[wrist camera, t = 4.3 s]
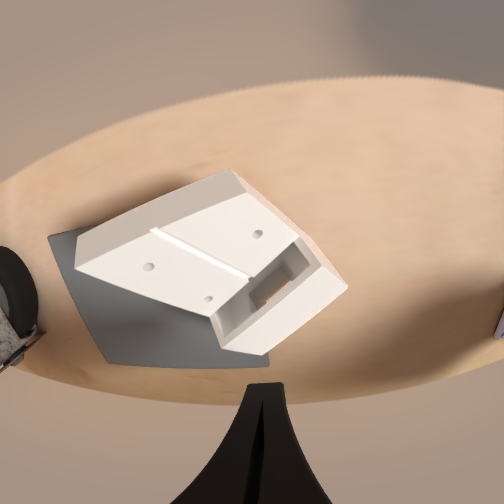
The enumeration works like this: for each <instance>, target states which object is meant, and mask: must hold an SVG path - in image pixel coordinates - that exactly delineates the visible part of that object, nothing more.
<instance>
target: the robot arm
mask: <svg viewBox="0 0 504 504" xmlns="http://www.w3.org/2000/svg"><path fill="white" fill-rule="evenodd" d="M503 337H504V311H503V314H502V317H501V319H500V322H499V324H498V327H497V329H496V332H495V334H494V338H495V339H496V340H498V339H500V338H503ZM170 504H332V502H331V501H330V499H329V498H328V496H327V495H326V493H325V492H324V490H323V489H322V487H321V485H320V484H319V482H318V481H317V479H316V477H315V475H314V474H313V472H312V470H311V468H310V466H309V464H308V462H307V460H306V458H305V456H304V454H303V452H302V450H301V447H300V445H299V443H298V440H297V438H296V435H295V433H294V430H293V427H292V424H291V421H290V418H289V415H288V411H287V407H286V400H285V392H284V384H283V383H281V382H276V383H257V384H249V385H247V388H246V392H245V394H244V397H243V400H242V403H241V405H240V407H239V410H238V412H237V414H236V416H235V418H234V420H233V423H232V424H231V426H230V429H229V430H228V433H227V434H226V436H225V437H224V439H223V441H222V442H221V444H220V446H219V447H218V449H217V450H216V452H215V453H214V455H213V456H212V458H211V459H210V461H209V462H208V463H207V465H206V466H205V467H204V469H203V470H202V471H201V472H200V473H199V475H198V476H197V477H196V478H195V479H194V481H193V482H192V483H191V484H190V485H189V486H188V487H187V488H186V489H185V490H184V491H183V492H182V493H181V494H180V495H179V496H178V497H177V498H176V499H175V500H173V502H171V503H170Z"/></svg>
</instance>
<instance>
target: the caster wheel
mask: <svg viewBox="0 0 504 504" xmlns="http://www.w3.org/2000/svg"><path fill="white" fill-rule="evenodd" d="M37 315H38V300H37V293H36V290H35V286H34V283H33V280H32V278H31V275H30V273H29V271H28V269H27V267H26V266H25V264H24V262H23V261H22V260H21V259H20V257H19V256H18V255H17V254H16V253H14V252H13V251H12V250H10V249H9V248H7V247H2V246H0V366H1V365H2V364H3V365H4V367H2V368H1V369H0V373H1V372H2V371H3V370H5V369H6V368H7V367H9V366H10V365H11V366H16V365H17V364H19V363H20V362H21V361H22V360H23V359H24V352H26V351H27V350H28V349H29V348H30V347H31V346H32V345H33V344H35V343H36V342H37V341H38V340H39V339H40V338H42V337H43V336H44V335H45V334H46V333H47V332H46V333H44V334H43V335H42V336H40V337H39V338H38V339H36V340H35V341H34V342H32V343H31V344H30V345H28V346H24V345H25V344H26V343H27V342H28V341H29V340H30V339H31V338H32V337H33V336H34V335H35V333H36V329H37V326H36V324H35V322H36V319H37ZM21 347H22V348H21Z"/></svg>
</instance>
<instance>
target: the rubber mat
mask: <svg viewBox="0 0 504 504" xmlns="http://www.w3.org/2000/svg"><path fill="white" fill-rule="evenodd" d="M100 225H101V224H100ZM97 226H99V225H95V226H90V227H86V228H81V229H76V230H72V231H67V232H63V233H58V234H54V235H50V236H49V237H47V238H48V241H49V244H50V246H51V249H52V252H53V254H54V257H55V259H56V262H57V264H58V267H59V269H60V272H61V274H62V276H63V279H64V281H65V283H66V285H67V288H68V290H69V292H70V294H71V296H72V298H73V300H74V303H75V305H76V307H77V309H78V311H79V313H80V315H81V317H82V319H83V320H84V322H85V324H86V326H87V328H88V330H89V332H90V334H91V335H92V337H93V339H94V341H95V342H96V344H97V346H98V348H99V349H100V351H101V353H102V354H103V356H104V358H105V359H106V361H107V363H110V364H119V365H131V366H144V367H161V368H190V369H228V368H257V367H269V358H268V352H266V353H265V354H264V355H256V354H249V353H243V352H237V351H231V350H226V349H221V346H220V344H219V341H218V339H217V336H216V334H215V331H214V328H213V326H212V323H211V320H210V318H209V317H208V316H204V315H201V314H198V313H195V312H192V311H188V310H185V309H182V308H179V307H176V306H173V305H170V304H167V303H164V302H161V301H158V300H155V299H152V298H149V297H146V296H144V295H141V294H138V293H135V292H132V291H130V290H127V289H124V288H122V287H119V286H116V285H114V284H111V283H108V282H106V281H103V280H101V279H98V278H96V277H93V276H91V275H88V274H86V273H83V272H81V271H78V270H76V269H74V265H75V254H76V245H77V237H78V236H79V235H81V234H83V233H85V232H87V231H89V230H91V229H93V228H95V227H97Z"/></svg>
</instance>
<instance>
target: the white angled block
mask: <svg viewBox="0 0 504 504" xmlns="http://www.w3.org/2000/svg"><path fill="white" fill-rule="evenodd" d="M74 269H76V270H78V271H81V272H83V273H86V274H88V275H91V276H93V277H96V278H98V279H101V280H103V281H106V282H108V283H111V284H114V285H116V286H119V287H122V288H124V289H127V290H130V291H132V292H135V293H138V294H141V295H144V296H146V297H149V298H152V299H155V300H158V301H161V302H164V303H167V304H170V305H173V306H176V307H179V308H182V309H185V310H188V311H192V312H195V313H198V314H201V315H204V316H208V317H209V318H210V320H211V323H212V326H213V328H214V331H215V334H216V336H217V339H218V341H219V344H220V346H221V349H226V350H231V351H237V352H243V353H249V354H256V355H264V354H265V353H266V352H268V351H269V350H270V349H272V348H273V347H274V346H276V345H277V344H279V343H280V342H281V341H283V340H284V339H285V338H287V337H288V336H289V335H290V334H292V333H293V332H294V331H296V330H297V329H298V328H300V327H301V326H302V325H303V324H305V323H306V322H307V321H308V320H310V319H311V318H312V317H313V316H315V315H316V314H317V313H318V312H320V311H321V310H322V309H323V308H325V307H326V306H327V305H328V304H329V303H331V302H332V301H333V300H334V299H335V298H337V297H338V296H339V295H340V294H341V293H343V292H344V291H345V290H346V289H347V288H348V286H347V284H346V283H345V282H344V280H343V279H342V278H341V276H340V275H339V274H338V272H337V271H336V270H335V268H334V267H333V266H332V264H331V263H330V262H329V261H328V259H327V258H326V257H325V255H324V254H323V253H322V252H321V250H320V249H319V248H318V247H317V245H316V244H315V243H314V241H313V240H312V239H311V238H310V237H309V236H308V235H307V234H306V233H304V232H303V231H302V230H301V229H300V228H299V227H298V226H297V225H295V224H294V223H293V222H292V221H291V220H290V219H289V218H288V217H286V216H285V215H284V214H283V213H282V212H281V211H280V210H278V209H277V208H276V207H275V206H274V205H273V204H272V203H270V202H269V201H268V200H267V199H266V198H265V197H263V196H262V195H261V194H260V193H259V192H258V191H256V190H255V189H254V188H253V187H252V186H250V185H249V184H248V183H247V182H246V181H245V180H243V179H242V178H241V177H240V176H239V175H237V174H236V173H235V172H234V171H233V170H231V169H227V170H224V171H222V172H219V173H216V174H214V175H211V176H209V177H206V178H204V179H201V180H199V181H196V182H194V183H191V184H189V185H186V186H184V187H181V188H179V189H177V190H174V191H172V192H170V193H167V194H165V195H163V196H160V197H158V198H156V199H154V200H151V201H149V202H147V203H145V204H143V205H140V206H138V207H136V208H134V209H132V210H130V211H127V212H125V213H123V214H121V215H119V216H117V217H115V218H113V219H111V220H109V221H107V222H105V223H103V224H101V225H99V226H97V227H95V228H93V229H91V230H89V231H87V232H85V233H83V234H81V235H79V236H78V237H77V245H76V254H75V265H74ZM290 280H291V281H292V282H291V283H290V284H288V285H287V286H286V287H285V288H284V289H283V290H281V291H280V292H279V293H278V294H277V295H276V296H274V297H273V298H272V299H271V300H270V301H269V302H266V301H267V300H268V299H269V298H270V297H272V296H273V295H274V294H275V293H276V292H277V291H279V290H280V289H281V288H282V287H283V286H284V285H286V284H287V283H288V282H289V281H290Z"/></svg>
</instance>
